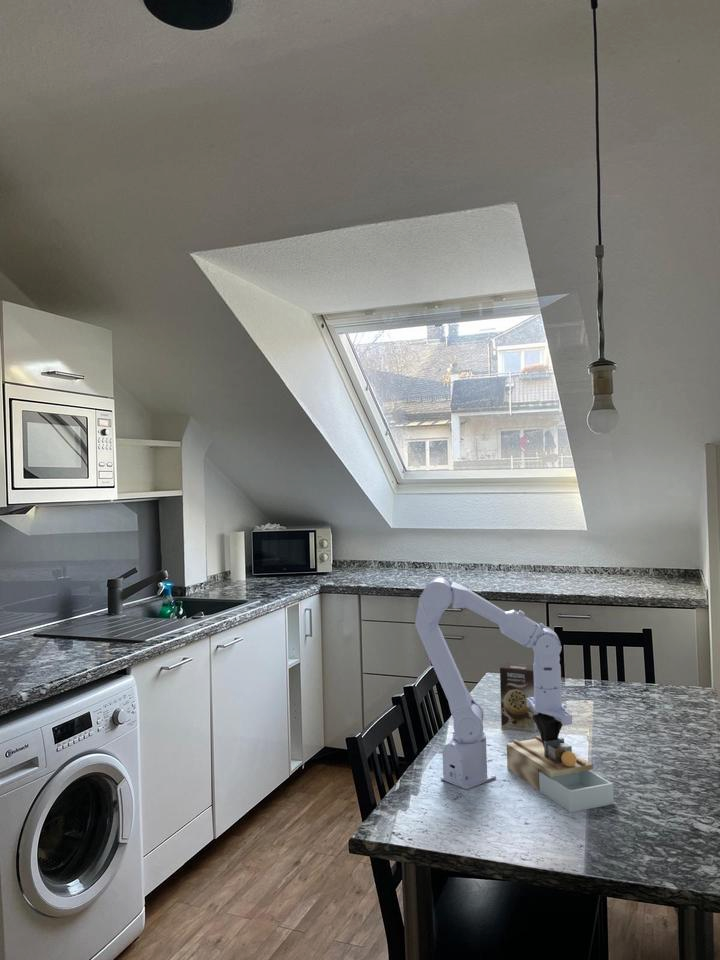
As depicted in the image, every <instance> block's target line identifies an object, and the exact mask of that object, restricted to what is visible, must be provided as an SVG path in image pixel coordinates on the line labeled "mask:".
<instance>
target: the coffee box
mask: <svg viewBox="0 0 720 960" xmlns="http://www.w3.org/2000/svg"><path fill="white" fill-rule="evenodd" d="M499 681H500V684H499V685H500V718H501V719H500V722H501V726H500V728H501V729H503V730H509V731H517V732H523V731H525V732H526V733H531V732H532V733H533V734H535V733H536V732H537V731H539V730H538V727H537V725H536V723H535V721H534V720H533V715H536V714H538V713H539V712H536V711H535V710H534V709H533V708H532V707H530V708H529V707H527V698H530V697H534V672H533V664H523V663H512V662H506V663H504V664H502V665H501V666H500V667H499ZM525 732H524V733H525Z"/></svg>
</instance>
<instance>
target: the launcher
mask: <svg viewBox="0 0 720 960" xmlns="http://www.w3.org/2000/svg"><path fill="white" fill-rule="evenodd" d="M574 754H575V753H574ZM575 756H576V759H577V760H576V763H575V765H574V766H571V767H568V766H566V765H564V764H563V762H561V763H554V762H552V761H551V760H549V759H547V758H546V757H545V756H544V746H543V743H542V739H541V735H540V736H539V735H535V738H532V739H527V740H517V739H513V742H507V743H506V766H507V767H506V768H507V769H508V770H509V771H511V772H512V773H513V774H515V775H516V776H517V777H519V778H520V779H522V780H524V781H525V782H526V783H527V784H529V785H530V786H532V787H533V788H535V789H536V790H538V791H540V786H539V772H540V771H543V772H545V773H546V774H548V775H549V776H551V777H553V776H558V775H564V774H570V773H575V772H581V771H586V770H590V771H592V770H594V764H593V763H592V762H590V761H587V760H586V759H585V758H583V757H581V756H579V755H577V754H575Z"/></svg>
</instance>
